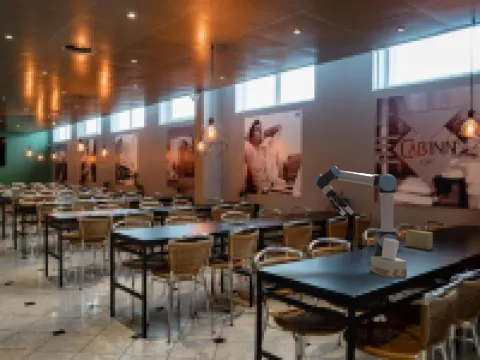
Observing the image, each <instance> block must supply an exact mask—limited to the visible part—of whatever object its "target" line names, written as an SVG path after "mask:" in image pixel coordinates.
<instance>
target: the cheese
mask: <svg viewBox="0 0 480 360" xmlns="http://www.w3.org/2000/svg"><path fill="white" fill-rule="evenodd" d="M405 234H406V235H405V246H406V247H410V246H411V247H410V248H417V249H421V248H422V249H421V250H426V251H429V250H432V249H433V244H434V243H433V242H434V241H433V239H434V237H433V236H434V235H433V234H434V233H433V232H432V231H422V230H415V229H406V233H405Z"/></svg>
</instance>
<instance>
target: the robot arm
mask: <svg viewBox="0 0 480 360" xmlns="http://www.w3.org/2000/svg"><path fill="white" fill-rule="evenodd" d="M333 180H336V181H341V182H342V181H343V182H344V181H345V182H348V183H349V182H350V183H355V184H363V185H369V186H371V187H373V188H376V189H378V194H379V195H380V228H377V229H376V231H375V233H376V234H375V249H374V252H373V256H372V257H376V256H382V250H383V242H384V238H390V239H394V240H398V238H397V230H396V229H395V228H394V226H395V223H394V217H395V216H394V215H395V213H394V212H395V211H394V195H395V194H396V190H397V188H396V187H397V183H398V181H397V178H396V177H395V176H394V175H393V174H389V173H385V174H376V173H375V174H374V173H373V174H367V173H359V172H353V171H346V170H340V169H339V168H338V167H337V166H336V165H333V166H332V167H331V168H329V169H327V171H326V172H325V173H324V174H321V173H319V174H317V175H316V176H315V177H314V178H313V181H314V183H315V184H316V186H317V187H318V188H319V189H320V190H321V192H322V193H323V194H324V195H325V196H326V198H327V199H328V200H329V202H330V204H331V205H332V208H333V209H334V210H335V211H336V210H337V211H338V212H339V214H340V215H341V216H342V217H343V216H344V215H346V212H345V211H344V210H343V209H342V207H341V206H343V207H344V209H345V210H346V211H347V212H348V213H349V215H350V216H351V215H353V214H354V212H355V211H353V210H352V209H351V207H350V206H349V205H350V204H349V203H348V202H347V201H345V199H343V197H341V196H340V195H337V194H338V193H337V191H336V190H335V189H334V188H333V186H332V185H331V184H330V183H331V182H332V181H333ZM339 204H340V205H341V206H339Z"/></svg>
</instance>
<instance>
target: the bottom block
mask: <svg viewBox="0 0 480 360" xmlns="http://www.w3.org/2000/svg"><path fill="white" fill-rule="evenodd" d="M370 272H372V273H374V272H375V274H377V275H380V276H382V277H385V278H391V277H405V276H406V277H407V275H408V268H407V269H392V270H384V269H381V268H379V267H376V266H374V265H371V264H370Z"/></svg>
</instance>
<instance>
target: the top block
mask: <svg viewBox="0 0 480 360" xmlns="http://www.w3.org/2000/svg"><path fill="white" fill-rule="evenodd" d="M371 265H374V266H376V267H379V268H381V269H384V270H392V269H407V270H408V268H407V266H408V261H407V260H405V259H402V258H398V257H396V258H395V260H391V259H386V258H383V257H382V256H376V257H373V256H370V266H371Z"/></svg>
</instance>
